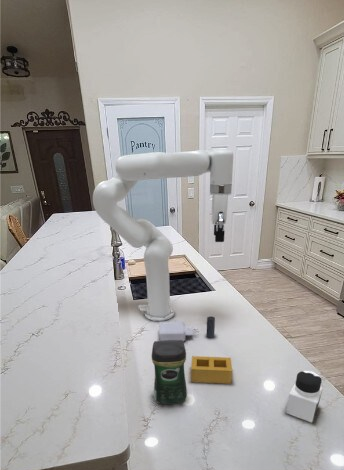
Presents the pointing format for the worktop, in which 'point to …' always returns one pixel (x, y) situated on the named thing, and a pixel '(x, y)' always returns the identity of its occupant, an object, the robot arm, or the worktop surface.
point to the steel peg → (210, 327)
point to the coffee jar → (169, 371)
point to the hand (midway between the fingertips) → (218, 238)
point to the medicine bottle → (305, 396)
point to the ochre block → (211, 369)
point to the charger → (174, 331)
